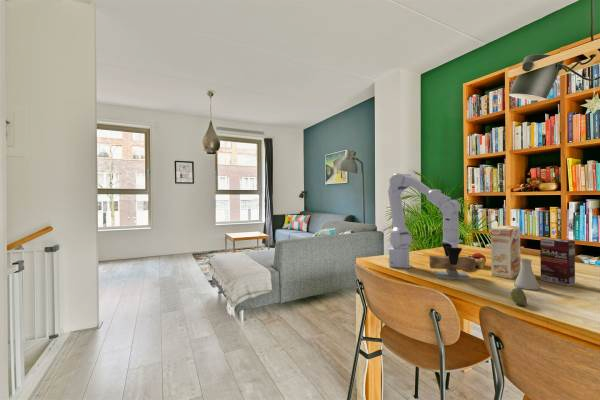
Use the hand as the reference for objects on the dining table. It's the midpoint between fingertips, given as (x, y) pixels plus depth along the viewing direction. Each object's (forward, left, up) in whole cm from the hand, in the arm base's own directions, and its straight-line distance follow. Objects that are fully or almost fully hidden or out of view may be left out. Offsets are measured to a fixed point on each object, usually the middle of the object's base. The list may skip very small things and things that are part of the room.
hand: (451, 262), depth 113 cm
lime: (+13, -28, -6) cm, 31 cm away
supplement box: (+35, 0, -6) cm, 35 cm away
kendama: (+12, +17, -6) cm, 22 cm away
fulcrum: (0, 0, -6) cm, 6 cm away
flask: (+22, -9, -6) cm, 24 cm away
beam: (0, 0, -2) cm, 2 cm away
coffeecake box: (+22, +9, -6) cm, 24 cm away
